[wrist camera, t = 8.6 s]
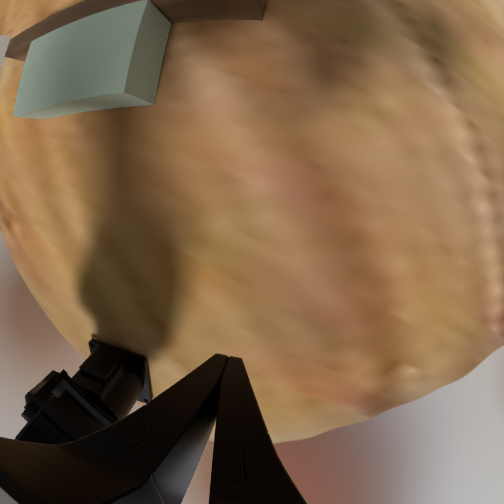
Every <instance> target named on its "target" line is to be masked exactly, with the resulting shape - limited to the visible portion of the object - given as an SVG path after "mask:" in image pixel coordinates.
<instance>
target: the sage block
mask: <svg viewBox="0 0 504 504" xmlns="http://www.w3.org/2000/svg"><path fill="white" fill-rule="evenodd" d="M170 28H171V23H170V22H169V21H168V20H167V19H166V17H165V16H164V15H163V14H162V13H161V12H160V11H159V10H158V9H157V8H156V7H155V6H154V5H153V3H152V2H151V1H150V0H142V1H137V2H133V3H129V4H125V5H122V6H118V7H115V8H111V9H108V10H105V11H102V12H99V13H96V14H93V15H90V16H87V17H85V18H82V19H79V20H77V21H74V22H72V23H69V24H67V25H65V26H62V27H60V28H58V29H56V30H53V31H51V32H49V33H47V34H45V35H43V36H41V37H39V38H37V39H35V40H33V41H31V44H30V47H29V51H28V54H27V57H26V60H25V64H24V68H23V71H22V75H21V79H20V83H19V88H18V92H17V97H16V103H15V108H14V114H13V117H25V118H38V119H49V118H54V117H59V116H64V115H69V114H75V113H81V112H88V111H95V110H102V109H111V108H120V107H131V106H145V105H155V99H156V93H157V87H158V82H159V76H160V71H161V66H162V61H163V57H164V52H165V48H166V44H167V39H168V35H169V31H170Z"/></svg>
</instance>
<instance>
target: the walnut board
mask: <svg viewBox="0 0 504 504" xmlns="http://www.w3.org/2000/svg"><path fill="white" fill-rule="evenodd" d="M137 1H142V0H86V1H84V2H81V3H79V4H76V5H74V6H72V7H69V8H67V9H65V10H63V11H61V12H59V13H56V14H54V15H52V16H50V17H48V18H46V19H45V20H43V21H41V22H39V23H37V24H35V25H34V26H32V27H30V28H28V29H27V30H25V31H23V32H22V33H20V34H18V35H17V36H15V37H14V38H12V39H11V40H10V42H9V45H8V48H7V51H6V54H5V57H8V58H13V59H17V60H22V61H25V60H26V57H27V54H28V51H29V47H30V44H31V41H33V40H35V39H37V38H39V37H41V36H43V35H45V34H47V33H49V32H51V31H53V30H56V29H58V28H60V27H62V26H65V25H67V24H69V23H72V22H74V21H77V20H79V19H82V18H85V17H87V16H90V15H93V14H96V13H99V12H102V11H105V10H108V9H111V8H115V7H118V6H122V5H125V4H129V3H133V2H137ZM150 1H151V2H152V3H153V5H154V6H155V7H156V8H157V9H158V10H159V11H160V12H161V13H162V14H163V15H164V16H165V17H166V19H167V20H168V21H169V22H170V23H176V22H186V21H199V20H222V19H242V20H262V19H263V13H264V7H265V0H150Z"/></svg>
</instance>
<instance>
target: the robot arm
mask: <svg viewBox="0 0 504 504" xmlns="http://www.w3.org/2000/svg"><path fill="white" fill-rule="evenodd" d="M89 348H90V352H91V355H90V356H89V357H88V358H87V359H86V360H85V361H84V362H83V364H82V365H81V366H80V367H79V368H80V370H79V371H78V372H77V373H76V374H75V375H74V376H73V377H72V378H70V377H69V376H68V374H67V372H66V371H65V370H64V369H63V370H62V372H60V373H59V372H56V371H54V370H53V371H52V372H50V373H49V375H47V376H46V377H45V378H44V379H43V380H42V381H41V382H40V383H39V384H38V385H36V386H35V387H34V388H33V389H32V390H30V391H29V392H28V393H27V394H26V395H25V401H26V406H25V407H24V409H25V410H24V412H23V413H22V415H21V416H22V417H23V418H24V419H25V420H26V421H27V422H28V423H27V424H26V425H25V427H24V428H23V429H22V430H21V431H20V433H19V434H18V435H17V436H16V438H15V440H13V439H8V438H3V437H0V504H181V502H182V500H183V497H184V495H185V493H186V491H187V488H188V486H189V484H190V481H191V479H192V477H193V474H194V472H195V470H196V467H197V465H198V463H199V460H200V458H201V455H202V453H203V451H204V448H205V446H206V444H207V441H208V439H209V436H210V434H211V431H212V429H213V427H214V424H215V421H216V428H215V438H214V450H213V460H212V472H211V484H210V497H209V504H307V503H306V501H305V500H304V498H303V497H302V495H301V494H300V492H299V491H298V489H297V488H296V486H295V484H294V483H293V481H292V480H291V478H290V476H289V475H288V473H287V471H286V470H285V468H284V466H283V465H282V462H281V461H280V459H279V457H278V455H277V452H276V450H275V448H274V446H273V443H272V441H271V438H270V435H269V434H268V430H267V428H266V425H265V422H264V420H263V417H262V414H261V411H260V409H259V406H258V403H257V400H256V397H255V395H254V392H253V389H252V386H251V383H250V380H249V377H248V374H247V371H246V368H245V366H244V363H243V360H242V359H241V358H238V357H233V356H230V357H228V356H227V355H222V354H215V355H213V356H212V357H211V358H209V359H208V360H207V361H205V362H204V363H203V364H201V365H200V366H199V367H197V368H196V369H195V370H193V371H192V372H191V373H189V374H188V375H186V376H185V377H184V378H182V379H181V380H180V381H178V382H177V383H175V384H174V385H173V386H171V387H170V388H168V389H167V390H165V391H164V392H163V393H161V394H160V395H158V396H157V397H155V398H154V399H153V400H152V397H151V390H150V383H149V376H148V368H147V361H146V359H145V357H143V356H141V355H138V354H135V353H132V352H129V351H125V350H122V349H119V348H117V347H114V346H111V345H108V344H105V343H102V342H100V341H97V340H94V339H91V340H90V341H89ZM140 360H141V361H140ZM137 400H138V401H140V402H143V403H146V405H144V406H142V407H141V408H139V409H138V410H136V411H135V412H133V413H131V414H130V415H128V414H129V412H130V411H131V409H132V407H133V405H134V404H135V402H136V401H137ZM127 415H128V416H127Z"/></svg>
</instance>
